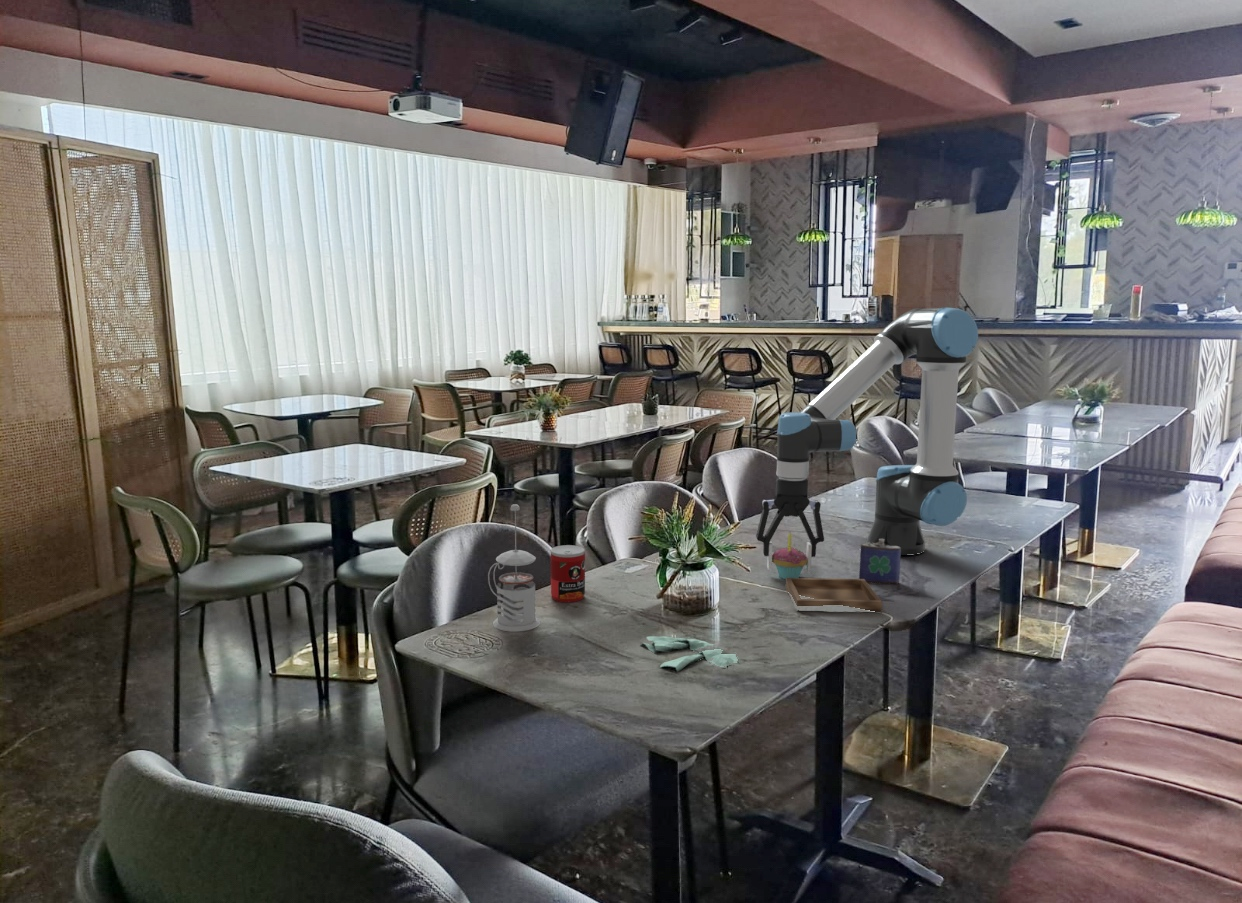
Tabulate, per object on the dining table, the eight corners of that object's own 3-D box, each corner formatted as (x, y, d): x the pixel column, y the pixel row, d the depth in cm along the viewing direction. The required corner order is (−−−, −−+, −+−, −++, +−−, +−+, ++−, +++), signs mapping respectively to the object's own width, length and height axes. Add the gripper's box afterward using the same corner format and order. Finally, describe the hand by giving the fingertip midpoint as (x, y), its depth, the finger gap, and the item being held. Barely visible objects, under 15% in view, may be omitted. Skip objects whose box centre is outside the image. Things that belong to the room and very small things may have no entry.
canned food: (559, 604, 190) (559, 556, 188) (545, 594, 197) (544, 547, 195) (591, 599, 194) (591, 551, 192) (576, 589, 201) (575, 543, 199)
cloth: (756, 670, 157) (757, 658, 157) (644, 688, 150) (644, 674, 150) (707, 632, 176) (708, 620, 176) (605, 645, 169) (605, 633, 168)
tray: (863, 589, 202) (864, 579, 201) (881, 613, 186) (882, 601, 186) (785, 588, 202) (786, 577, 202) (796, 611, 187) (797, 600, 186)
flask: (899, 582, 208) (901, 538, 206) (899, 585, 205) (901, 541, 203) (858, 578, 210) (860, 535, 208) (858, 582, 207) (860, 538, 206)
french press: (520, 635, 172) (518, 511, 168) (475, 623, 178) (473, 504, 174) (550, 620, 181) (549, 502, 177) (506, 610, 187) (504, 496, 183)
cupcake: (806, 583, 206) (808, 534, 204) (770, 580, 208) (771, 532, 206) (806, 572, 215) (808, 525, 213) (771, 570, 216) (772, 523, 214)
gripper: (834, 475, 211) (830, 565, 214) (745, 474, 211) (742, 564, 215) (840, 481, 203) (836, 574, 207) (748, 480, 204) (746, 573, 208)
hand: (788, 569), depth 211 cm, fingers open, 9 cm apart
